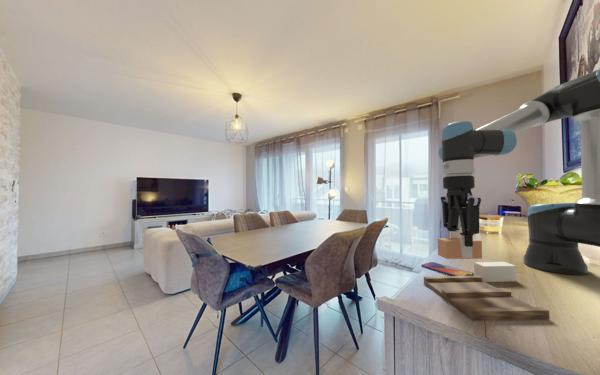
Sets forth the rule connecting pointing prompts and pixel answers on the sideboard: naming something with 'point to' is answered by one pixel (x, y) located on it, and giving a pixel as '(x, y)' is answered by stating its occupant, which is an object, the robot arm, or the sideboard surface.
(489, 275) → the cream stub
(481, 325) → the sideboard surface
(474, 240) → the terracotta stub
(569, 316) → the sideboard surface
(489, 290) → the comb board
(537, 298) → the sideboard surface
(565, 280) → the sideboard surface
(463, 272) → the smartphone
